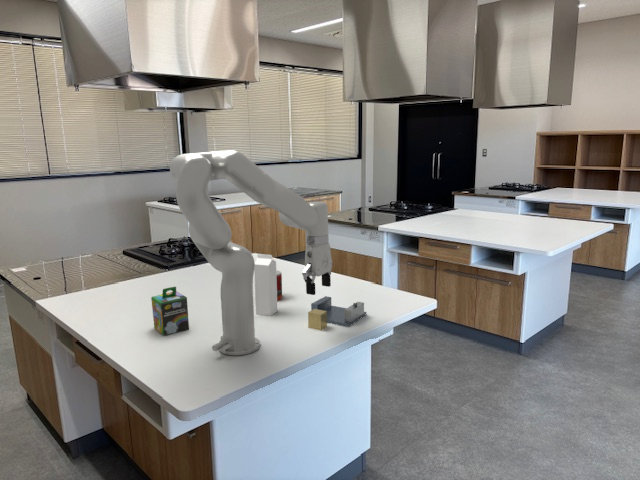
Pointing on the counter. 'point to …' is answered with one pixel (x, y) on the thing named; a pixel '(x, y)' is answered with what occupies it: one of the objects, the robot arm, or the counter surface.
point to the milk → (265, 285)
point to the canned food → (279, 285)
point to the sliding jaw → (354, 311)
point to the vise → (333, 312)
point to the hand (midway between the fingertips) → (318, 290)
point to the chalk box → (170, 312)
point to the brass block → (317, 319)
